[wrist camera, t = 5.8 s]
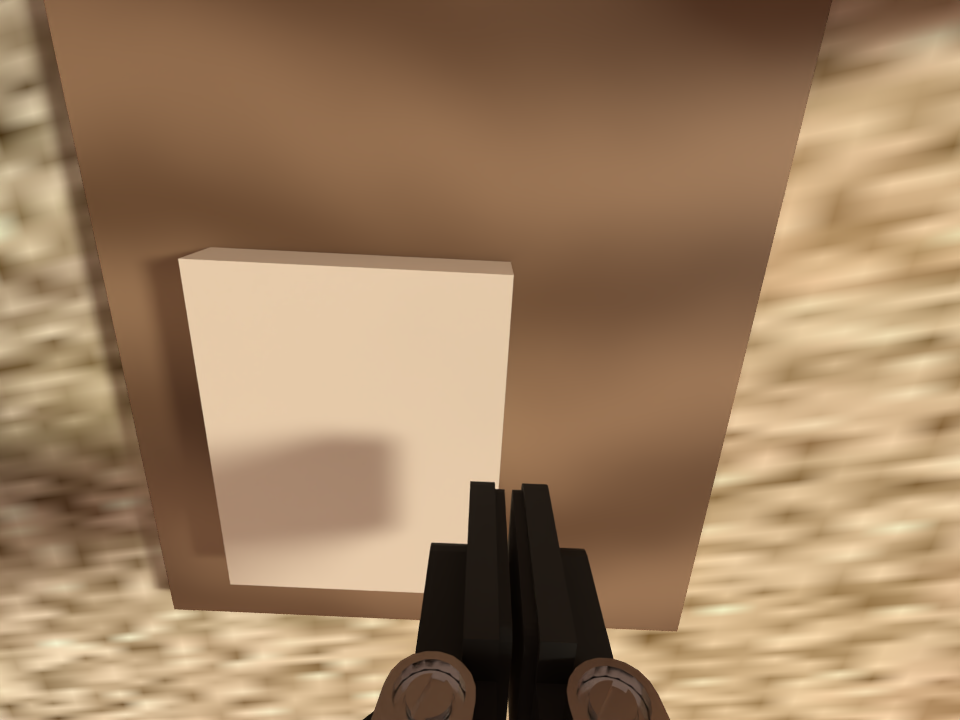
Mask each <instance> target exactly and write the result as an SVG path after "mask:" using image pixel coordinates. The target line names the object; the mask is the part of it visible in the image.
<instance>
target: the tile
mask: <svg viewBox="0 0 960 720" xmlns="http://www.w3.org/2000/svg"><path fill="white" fill-rule="evenodd" d="M178 261H179V268H180V274H181V280H182V286H183V293H184V299H185V305H186V311H187V318H188V324H189V330H190V336H191V342H192V349H193V355H194V361H195V367H196V374H197V380H198V386H199V392H200V398H201V405H202V411H203V417H204V423H205V430H206V436H207V442H208V448H209V454H210V461H211V467H212V473H213V479H214V486H215V492H216V498H217V504H218V511H219V517H220V523H221V529H222V535H223V542H224V548H225V554H226V560H227V567H228V573H229V579H230V584H233V585H256V586H278V587H300V588H323V589H345V590H368V591H390V592H413V593H424V588H425V581H426V574H427V566H428V559H429V552H430V546H431V542H433V543H458V544H467V540H468V518H469V497H470V481H479V482H495V489H499V475H500V461H501V447H502V433H503V419H504V405H505V391H506V377H507V363H508V349H509V335H510V321H511V307H512V293H513V279H514V274H513V269H512V265H511V262H501V261H481V260H460V259H440V258H420V257H399V256H379V255H359V254H338V253H318V252H297V251H277V250H257V249H236V248H216V247H210V248H207V249H204V250H201V251H198V252H195V253H193V254H190V255H187V256H184V257H181V258H179V259H178Z"/></svg>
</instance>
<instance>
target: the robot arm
mask: <svg viewBox="0 0 960 720" xmlns="http://www.w3.org/2000/svg"><path fill="white" fill-rule="evenodd" d="M507 704H508V706H509V720H670V718H669V716H668V714H667V712H666V710H665V708H664V706H663V704H662V701H661V699H660V697H659V695H658V693H657V692H656V690H655V689H654V687H653V685H652V684H651V682H650V681H649V680H648V679H647V678H646V677H645V676H644V675H643V674H642V673H641V672H640V671H639V670H637V669H635V668H634V667H632V666H630V665H628V664H627V663H625V662H622V661H618V660H615V659H613V655H612V651H611V647H610V643H609V639H608V635H607V631H606V627H605V623H604V619H603V615H602V611H601V608H600V604H599V600H598V596H597V592H596V588H595V584H594V580H593V576H592V572H591V568H590V564H589V560H588V556H587V553H586V551H585V549H581V548H560V547H559V542H558V537H557V531H556V526H555V520H554V515H553V510H552V504H551V499H550V494H549V488H548V485H547V484H528V483H522V486H521V490H512V495H511V508H510V521H509V534H508V540H507V522H506V504H505V490H504V489H495V482H479V481H470V497H469V518H468V540H467V544H458V543H433V542H431V546H430V552H429V559H428V566H427V574H426V581H425V588H424V595H423V602H422V609H421V617H420V624H419V631H418V638H417V645H416V652H415V654H412V655H411V656H409V657H407V658H405V659H403V660H402V661H400V662H399V663H398V664H397V665H396V666H395V667H394V668H393V669H392V670H391V671H390V673H389V675H388V677H387V679H386V681H385V682H384V685H383V687H382V690H381V693H380V696H379V699H378V702H377V704H376V707H375V710H374V711H373V712H372V713H371V714H370V715H368V716H367V717H366V718H365V719H363V720H506V715H507Z"/></svg>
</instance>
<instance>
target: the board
mask: <svg viewBox="0 0 960 720" xmlns="http://www.w3.org/2000/svg"><path fill="white" fill-rule="evenodd" d="M831 2H832V0H44V5H45V9H46V14H47V19H48V23H49V28H50V32H51V37H52V42H53V46H54V51H55V56H56V60H57V65H58V70H59V74H60V79H61V84H62V88H63V93H64V98H65V102H66V107H67V112H68V116H69V121H70V126H71V130H72V135H73V139H74V144H75V149H76V153H77V158H78V163H79V167H80V172H81V177H82V181H83V186H84V191H85V195H86V200H87V205H88V209H89V214H90V219H91V223H92V228H93V233H94V237H95V242H96V247H97V251H98V256H99V260H100V265H101V270H102V274H103V279H104V284H105V288H106V293H107V298H108V302H109V307H110V312H111V316H112V321H113V326H114V330H115V335H116V340H117V344H118V349H119V354H120V358H121V363H122V367H123V372H124V377H125V381H126V386H127V391H128V395H129V400H130V405H131V409H132V414H133V419H134V423H135V428H136V433H137V437H138V442H139V447H140V451H141V456H142V461H143V465H144V470H145V475H146V479H147V484H148V488H149V493H150V498H151V502H152V507H153V512H154V516H155V521H156V526H157V530H158V535H159V540H160V544H161V549H162V554H163V558H164V563H165V568H166V572H167V577H168V582H169V586H170V591H171V595H172V600H173V605H174V609H183V610H206V611H229V612H251V613H274V614H297V615H319V616H342V617H365V618H387V619H410V620H420V617H421V609H422V602H423V595H424V593H413V592H390V591H368V590H345V589H323V588H300V587H278V586H256V585H233V584H230V579H229V573H228V567H227V560H226V554H225V548H224V542H223V535H222V529H221V523H220V517H219V511H218V504H217V498H216V492H215V486H214V479H213V473H212V467H211V461H210V454H209V448H208V442H207V436H206V430H205V423H204V417H203V411H202V405H201V398H200V392H199V386H198V380H197V374H196V367H195V361H194V355H193V349H192V342H191V336H190V330H189V324H188V318H187V311H186V305H185V299H184V293H183V286H182V280H181V274H180V268H179V261H178V259H179V258H181V257H184V256H187V255H190V254H193V253H195V252H198V251H201V250H204V249H207V248H210V247H216V248H236V249H257V250H277V251H297V252H318V253H338V254H359V255H379V256H399V257H420V258H440V259H460V260H481V261H501V262H511V265H512V269H513V274H514V279H513V293H512V307H511V321H510V335H509V349H508V363H507V377H506V391H505V405H504V419H503V433H502V447H501V461H500V475H499V489H504V490H505V504H506V522H507V540H508V534H509V521H510V508H511V495H512V490H521V486H522V483H528V484H547V485H548V488H549V494H550V499H551V504H552V510H553V515H554V520H555V526H556V531H557V537H558V542H559V547H560V548H581V549H585V551H586V553H587V556H588V560H589V564H590V568H591V572H592V576H593V580H594V584H595V588H596V592H597V596H598V600H599V604H600V608H601V611H602V615H603V619H604V623H605V627H606V628H614V629H636V630H659V631H677V629H678V625H679V621H680V617H681V613H682V609H683V605H684V601H685V597H686V593H687V589H688V585H689V580H690V576H691V572H692V568H693V564H694V560H695V556H696V552H697V548H698V544H699V540H700V536H701V532H702V528H703V523H704V519H705V515H706V511H707V507H708V503H709V499H710V495H711V491H712V487H713V483H714V479H715V475H716V471H717V467H718V462H719V458H720V454H721V450H722V446H723V442H724V438H725V434H726V430H727V426H728V422H729V418H730V414H731V410H732V405H733V401H734V397H735V393H736V389H737V385H738V381H739V377H740V373H741V369H742V365H743V361H744V357H745V353H746V348H747V344H748V340H749V336H750V332H751V328H752V324H753V320H754V316H755V312H756V308H757V304H758V300H759V296H760V291H761V287H762V283H763V279H764V275H765V271H766V267H767V263H768V259H769V255H770V251H771V247H772V243H773V239H774V234H775V230H776V226H777V222H778V218H779V214H780V210H781V206H782V202H783V198H784V194H785V190H786V186H787V182H788V177H789V173H790V169H791V165H792V161H793V157H794V153H795V149H796V145H797V141H798V137H799V133H800V129H801V125H802V120H803V116H804V112H805V108H806V104H807V100H808V96H809V92H810V88H811V84H812V80H813V76H814V72H815V68H816V63H817V59H818V55H819V51H820V47H821V43H822V39H823V35H824V31H825V27H826V23H827V19H828V15H829V11H830V6H831Z"/></svg>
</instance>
